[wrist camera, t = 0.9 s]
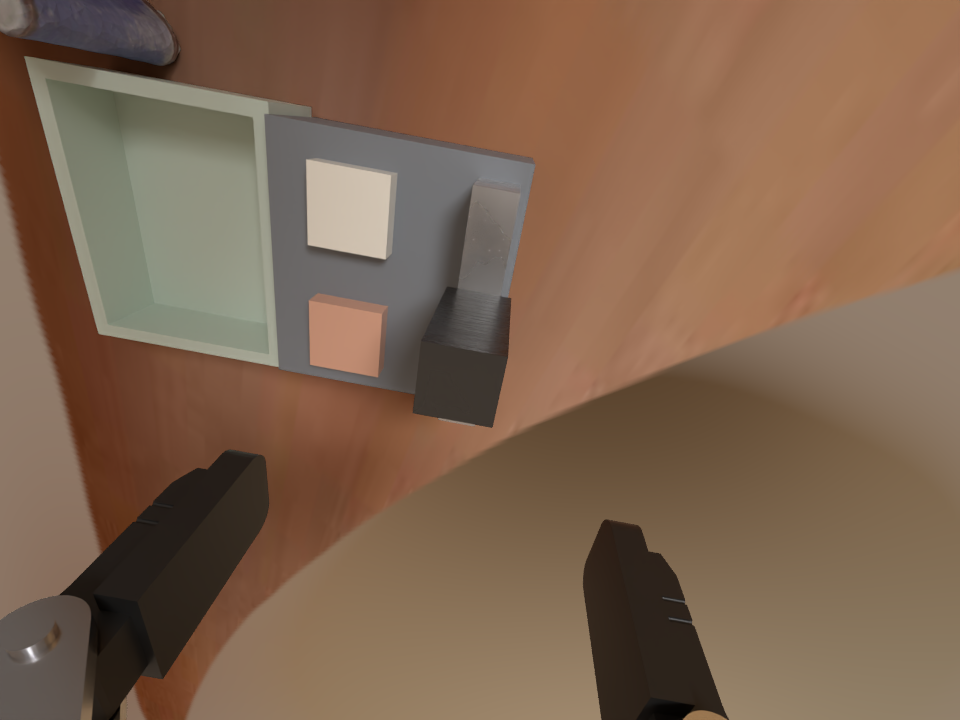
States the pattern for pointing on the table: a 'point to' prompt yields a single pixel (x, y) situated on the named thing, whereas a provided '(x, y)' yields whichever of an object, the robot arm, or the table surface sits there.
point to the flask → (94, 27)
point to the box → (166, 205)
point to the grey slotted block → (416, 236)
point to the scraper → (472, 318)
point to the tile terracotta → (347, 334)
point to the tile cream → (350, 207)
